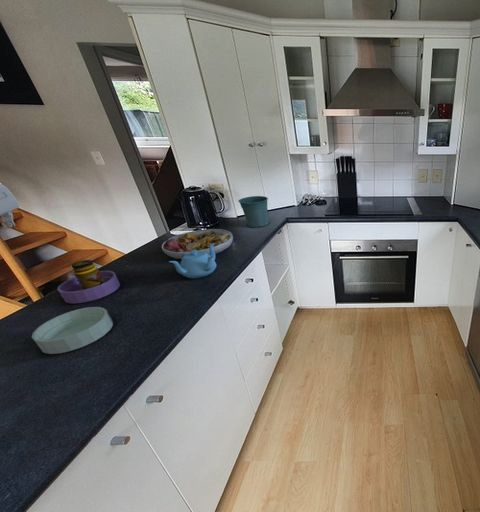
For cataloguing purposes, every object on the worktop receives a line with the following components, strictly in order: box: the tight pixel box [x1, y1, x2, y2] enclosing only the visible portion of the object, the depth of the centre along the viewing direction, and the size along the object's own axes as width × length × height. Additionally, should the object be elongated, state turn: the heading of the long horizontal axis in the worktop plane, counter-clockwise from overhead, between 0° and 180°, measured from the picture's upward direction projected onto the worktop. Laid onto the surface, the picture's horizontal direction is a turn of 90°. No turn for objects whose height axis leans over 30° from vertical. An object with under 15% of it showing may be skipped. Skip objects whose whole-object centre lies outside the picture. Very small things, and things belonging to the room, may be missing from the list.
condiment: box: [71, 259, 105, 291], centre depth 100 cm, size 7×8×12 cm
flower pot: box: [238, 195, 270, 228], centre depth 168 cm, size 16×16×16 cm
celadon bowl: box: [31, 306, 114, 355], centre depth 81 cm, size 15×15×5 cm
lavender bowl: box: [56, 270, 121, 304], centre depth 101 cm, size 15×15×5 cm
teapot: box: [168, 243, 217, 279], centre depth 115 cm, size 15×15×10 cm
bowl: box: [161, 228, 234, 260], centre depth 137 cm, size 30×30×8 cm
